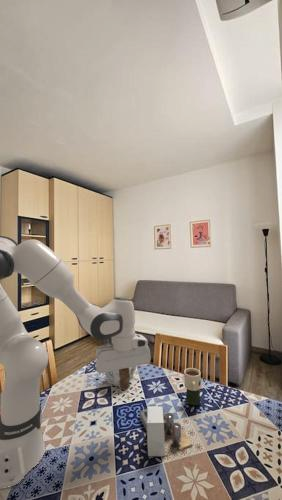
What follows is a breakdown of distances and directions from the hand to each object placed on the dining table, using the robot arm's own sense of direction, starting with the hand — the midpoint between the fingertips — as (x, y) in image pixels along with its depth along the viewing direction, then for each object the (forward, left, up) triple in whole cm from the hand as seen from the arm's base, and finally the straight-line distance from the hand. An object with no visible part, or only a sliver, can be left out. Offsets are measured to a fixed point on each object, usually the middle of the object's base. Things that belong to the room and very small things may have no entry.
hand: (124, 379), depth 78 cm
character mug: (+32, +4, -19) cm, 37 cm away
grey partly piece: (+12, 0, -19) cm, 22 cm away
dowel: (0, 0, -3) cm, 3 cm away
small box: (+8, -9, -19) cm, 23 cm away
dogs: (+16, -9, -19) cm, 26 cm away
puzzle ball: (+6, +30, -19) cm, 36 cm away
